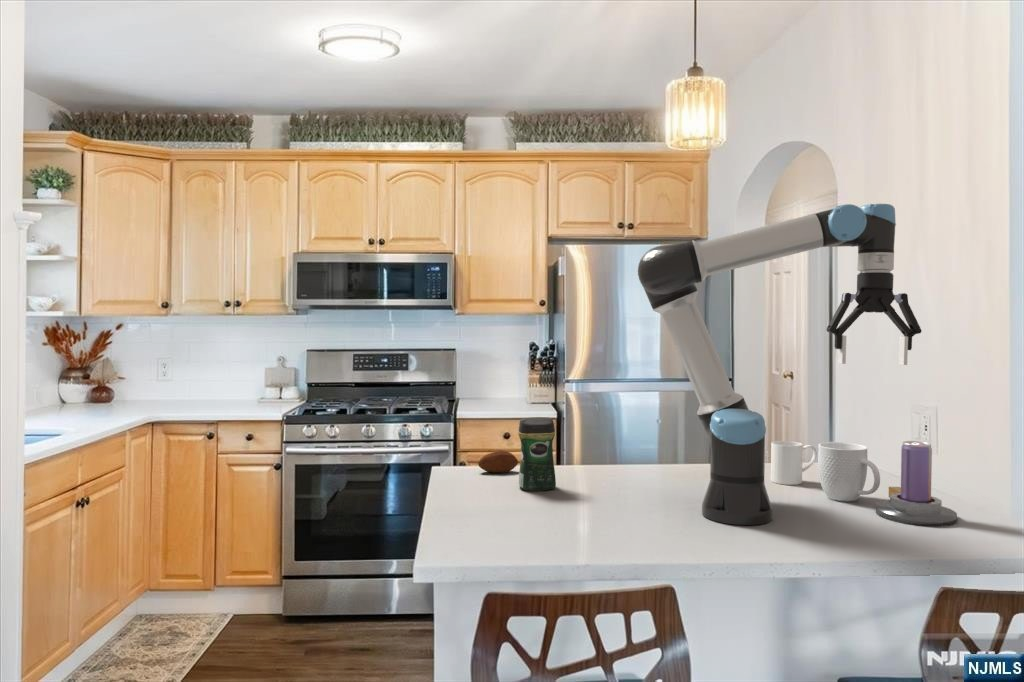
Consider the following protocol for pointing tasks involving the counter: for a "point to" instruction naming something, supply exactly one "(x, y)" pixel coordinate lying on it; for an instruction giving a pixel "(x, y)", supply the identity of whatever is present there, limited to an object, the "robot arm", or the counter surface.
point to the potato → (498, 462)
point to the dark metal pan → (915, 511)
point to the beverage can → (916, 471)
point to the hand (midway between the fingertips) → (872, 364)
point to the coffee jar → (536, 454)
